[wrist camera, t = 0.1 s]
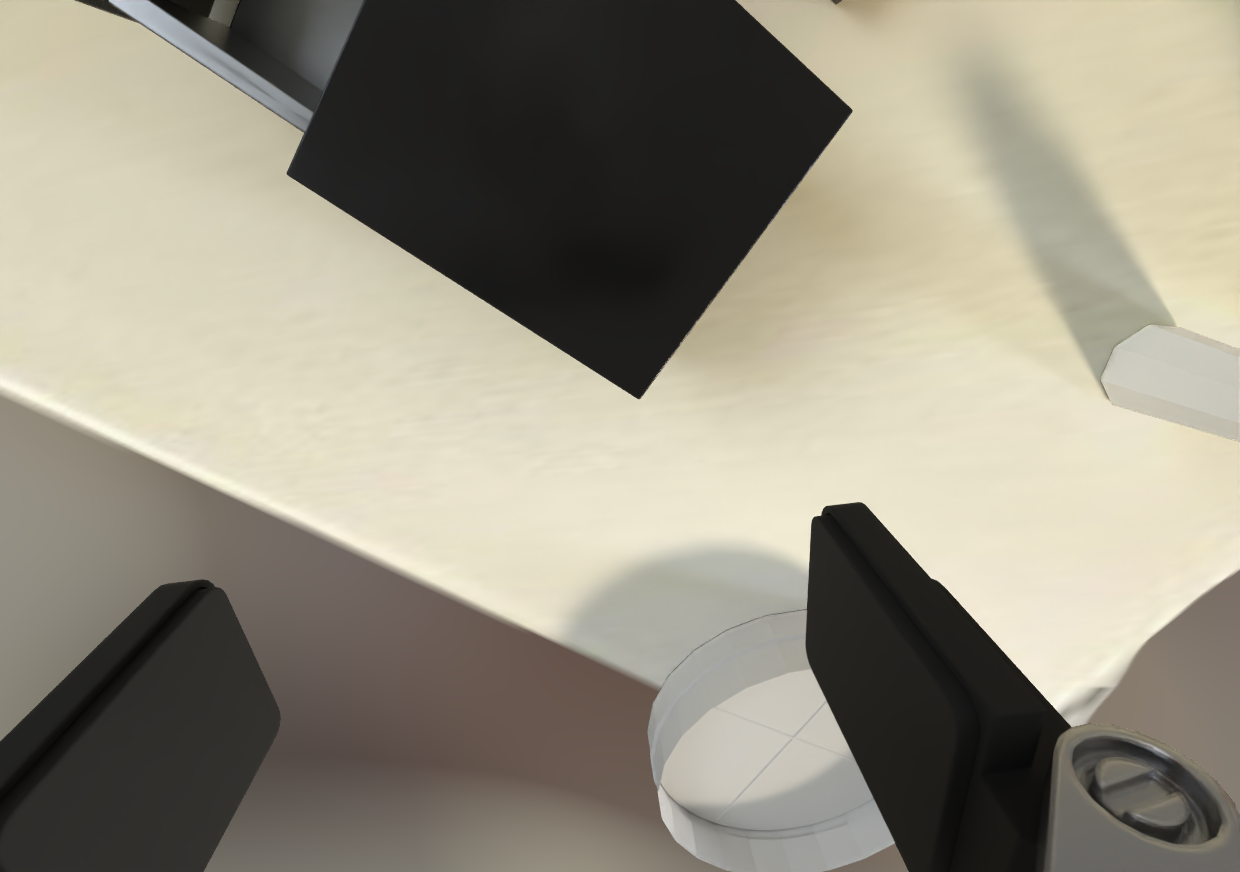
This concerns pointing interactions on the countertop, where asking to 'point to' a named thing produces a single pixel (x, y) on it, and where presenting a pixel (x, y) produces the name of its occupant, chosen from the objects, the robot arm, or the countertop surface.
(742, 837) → the dish
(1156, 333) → the salt shaker
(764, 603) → the countertop surface
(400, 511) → the countertop surface
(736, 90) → the cabinet
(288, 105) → the drawer
